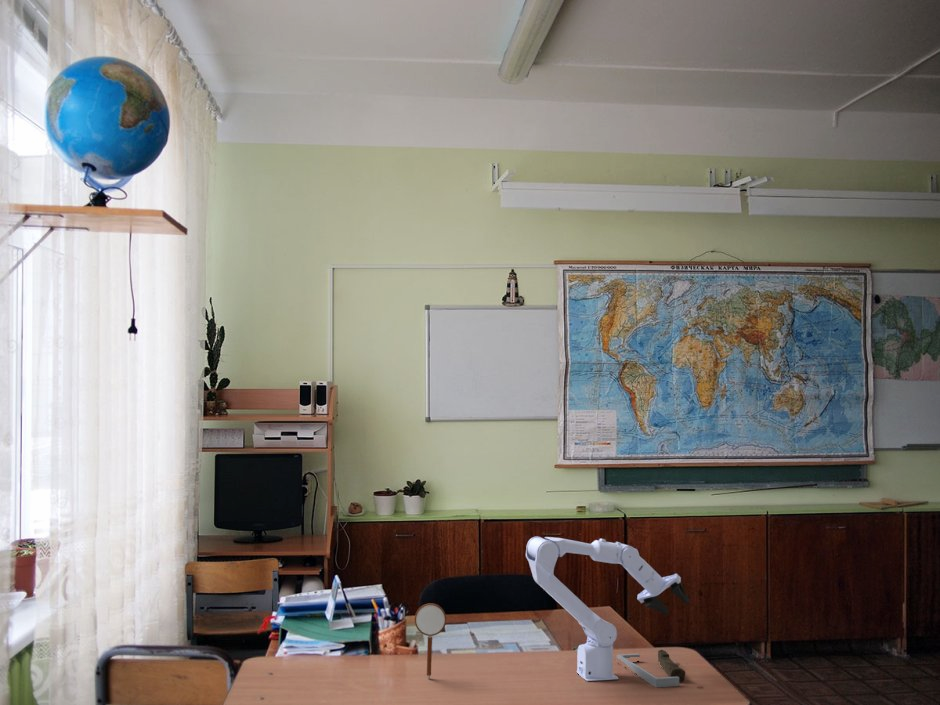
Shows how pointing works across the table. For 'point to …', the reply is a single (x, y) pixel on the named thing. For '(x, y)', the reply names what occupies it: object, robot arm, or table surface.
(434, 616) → the magnifying glass
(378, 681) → the table surface
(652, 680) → the box
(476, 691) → the table surface
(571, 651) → the table surface
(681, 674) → the brown rough log
